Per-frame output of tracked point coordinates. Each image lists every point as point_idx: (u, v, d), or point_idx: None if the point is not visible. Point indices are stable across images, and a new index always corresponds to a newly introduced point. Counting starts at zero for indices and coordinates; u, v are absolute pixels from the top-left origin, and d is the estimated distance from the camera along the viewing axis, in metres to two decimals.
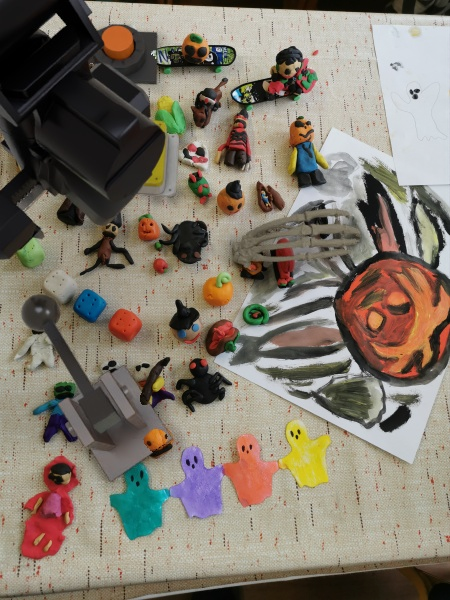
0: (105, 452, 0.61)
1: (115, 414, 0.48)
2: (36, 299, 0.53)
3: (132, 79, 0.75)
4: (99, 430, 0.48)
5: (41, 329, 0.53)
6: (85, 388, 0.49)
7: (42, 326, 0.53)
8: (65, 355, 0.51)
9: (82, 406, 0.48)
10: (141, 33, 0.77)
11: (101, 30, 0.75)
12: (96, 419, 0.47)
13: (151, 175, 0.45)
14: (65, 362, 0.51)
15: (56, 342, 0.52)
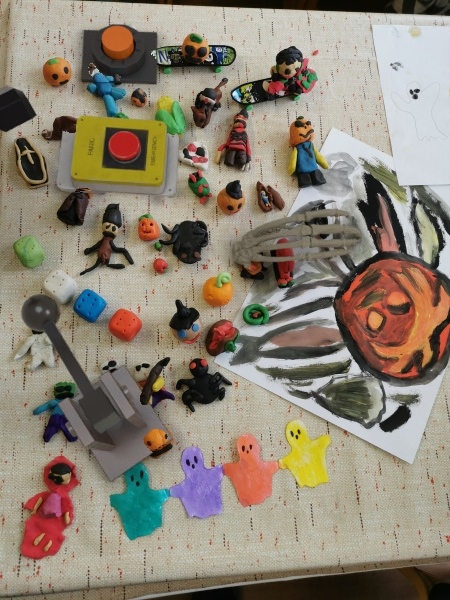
0: (105, 452, 0.61)
1: (115, 414, 0.48)
2: (36, 299, 0.53)
3: (132, 79, 0.75)
4: (99, 430, 0.48)
5: (41, 329, 0.53)
6: (85, 388, 0.49)
7: (42, 326, 0.53)
8: (65, 355, 0.51)
9: (82, 406, 0.48)
10: (141, 33, 0.77)
11: (101, 30, 0.75)
12: (96, 419, 0.47)
13: None
14: (65, 362, 0.51)
15: (56, 342, 0.52)
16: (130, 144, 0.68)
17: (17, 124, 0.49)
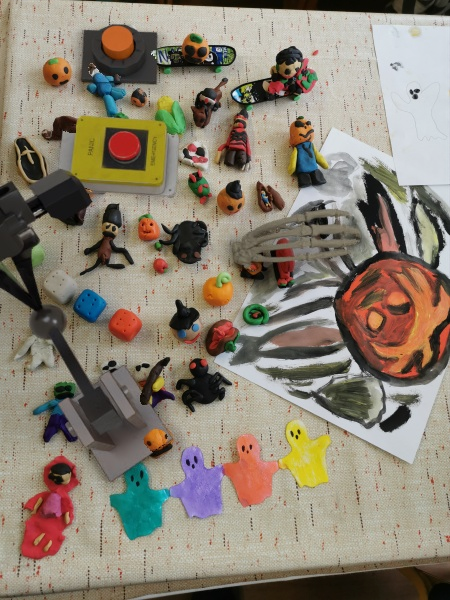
0: (105, 452, 0.61)
1: (114, 412, 0.48)
2: (42, 308, 0.54)
3: (132, 79, 0.75)
4: (99, 430, 0.48)
5: (47, 337, 0.54)
6: (86, 389, 0.49)
7: (48, 333, 0.54)
8: (68, 359, 0.52)
9: (81, 405, 0.48)
10: (141, 33, 0.77)
11: (101, 30, 0.75)
12: (94, 417, 0.47)
13: (25, 225, 0.43)
14: (68, 365, 0.51)
15: (60, 347, 0.53)
16: (130, 144, 0.68)
17: (74, 212, 0.49)
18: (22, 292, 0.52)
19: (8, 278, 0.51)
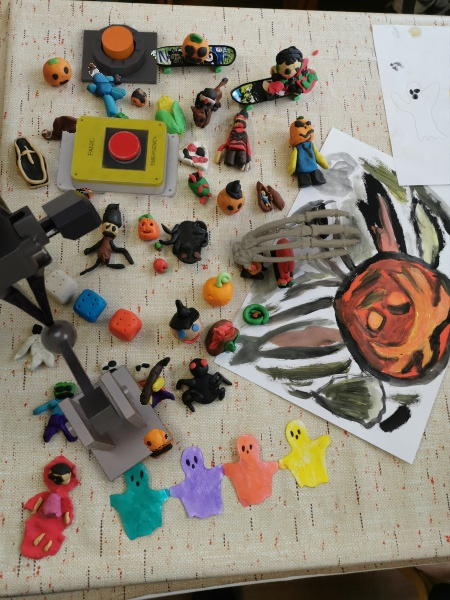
0: (105, 452, 0.61)
1: (112, 410, 0.47)
2: None
3: (132, 79, 0.75)
4: (98, 429, 0.48)
5: (57, 350, 0.56)
6: (88, 391, 0.50)
7: (57, 345, 0.55)
8: (73, 366, 0.53)
9: (81, 404, 0.48)
10: (141, 33, 0.77)
11: (101, 30, 0.75)
12: (92, 414, 0.47)
13: (39, 247, 0.45)
14: (73, 372, 0.52)
15: (67, 356, 0.54)
16: (130, 144, 0.68)
17: (85, 233, 0.51)
18: (35, 309, 0.54)
19: (21, 296, 0.52)
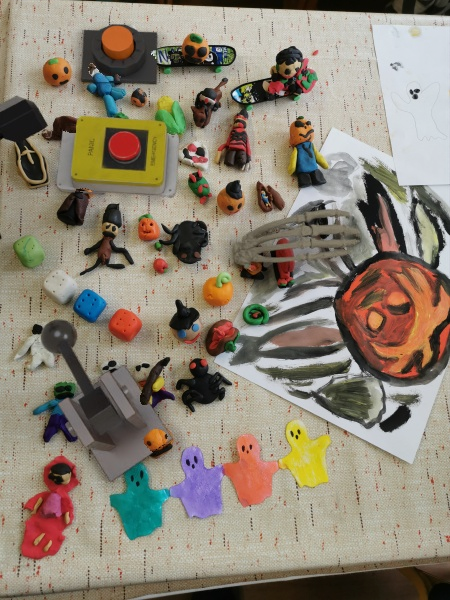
0: (105, 452, 0.61)
1: (112, 410, 0.47)
2: (53, 322, 0.56)
3: (132, 79, 0.75)
4: (98, 429, 0.48)
5: (57, 350, 0.56)
6: (88, 391, 0.50)
7: (57, 345, 0.55)
8: (73, 366, 0.53)
9: (81, 404, 0.48)
10: (141, 33, 0.77)
11: (101, 30, 0.75)
12: (92, 414, 0.47)
13: None
14: (73, 372, 0.52)
15: (67, 356, 0.54)
16: (130, 144, 0.68)
17: (29, 135, 0.49)
18: None
19: None
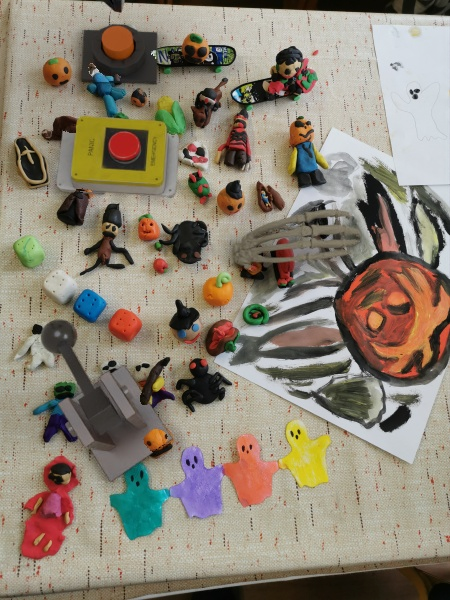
0: (105, 452, 0.61)
1: (112, 410, 0.47)
2: (53, 322, 0.56)
3: (132, 79, 0.75)
4: (98, 429, 0.48)
5: (57, 350, 0.56)
6: (88, 391, 0.50)
7: (57, 345, 0.55)
8: (73, 366, 0.53)
9: (81, 404, 0.48)
10: (141, 33, 0.77)
11: (101, 30, 0.75)
12: (92, 414, 0.47)
13: None
14: (73, 372, 0.52)
15: (67, 356, 0.54)
16: (130, 144, 0.68)
17: None
18: None
19: None
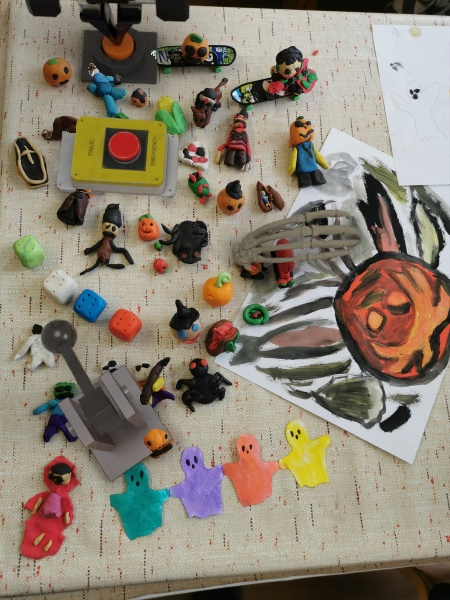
0: (105, 452, 0.61)
1: (112, 410, 0.47)
2: (53, 322, 0.56)
3: (132, 79, 0.75)
4: (98, 429, 0.48)
5: (57, 350, 0.56)
6: (88, 391, 0.50)
7: (57, 345, 0.55)
8: (73, 366, 0.53)
9: (81, 404, 0.48)
10: (141, 33, 0.77)
11: None
12: (92, 414, 0.47)
13: None
14: (73, 372, 0.52)
15: (67, 356, 0.54)
16: (130, 144, 0.68)
17: None
18: None
19: None
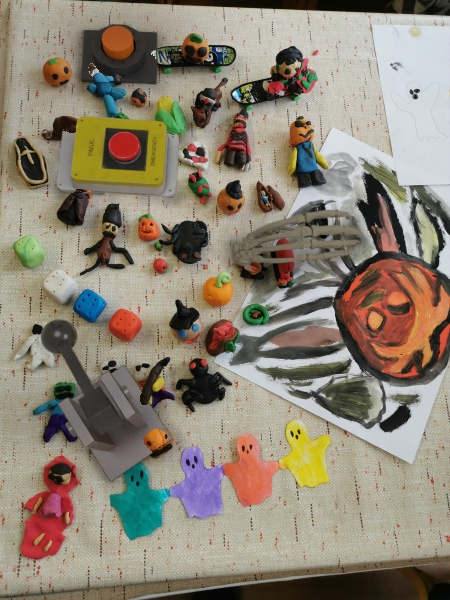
0: (105, 452, 0.61)
1: (112, 410, 0.47)
2: (53, 322, 0.56)
3: (132, 79, 0.75)
4: (98, 429, 0.48)
5: (57, 350, 0.56)
6: (88, 391, 0.50)
7: (57, 345, 0.55)
8: (73, 366, 0.53)
9: (81, 404, 0.48)
10: (141, 33, 0.77)
11: (101, 30, 0.75)
12: (92, 414, 0.47)
13: None
14: (73, 372, 0.52)
15: (67, 356, 0.54)
16: (130, 145, 0.68)
17: None
18: None
19: None
